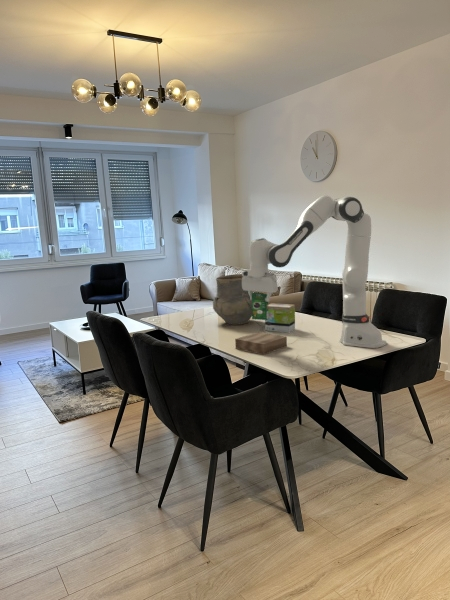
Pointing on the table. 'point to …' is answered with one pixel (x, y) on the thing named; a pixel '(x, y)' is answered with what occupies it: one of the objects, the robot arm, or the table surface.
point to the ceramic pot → (232, 300)
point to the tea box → (280, 318)
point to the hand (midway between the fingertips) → (259, 300)
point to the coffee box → (259, 306)
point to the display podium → (261, 342)
